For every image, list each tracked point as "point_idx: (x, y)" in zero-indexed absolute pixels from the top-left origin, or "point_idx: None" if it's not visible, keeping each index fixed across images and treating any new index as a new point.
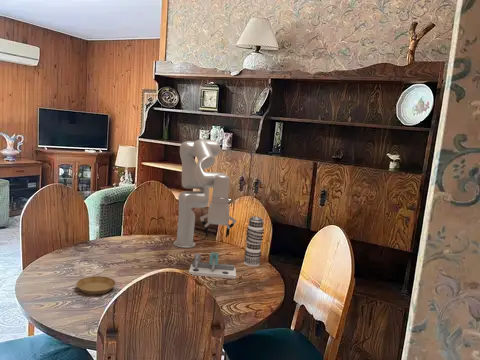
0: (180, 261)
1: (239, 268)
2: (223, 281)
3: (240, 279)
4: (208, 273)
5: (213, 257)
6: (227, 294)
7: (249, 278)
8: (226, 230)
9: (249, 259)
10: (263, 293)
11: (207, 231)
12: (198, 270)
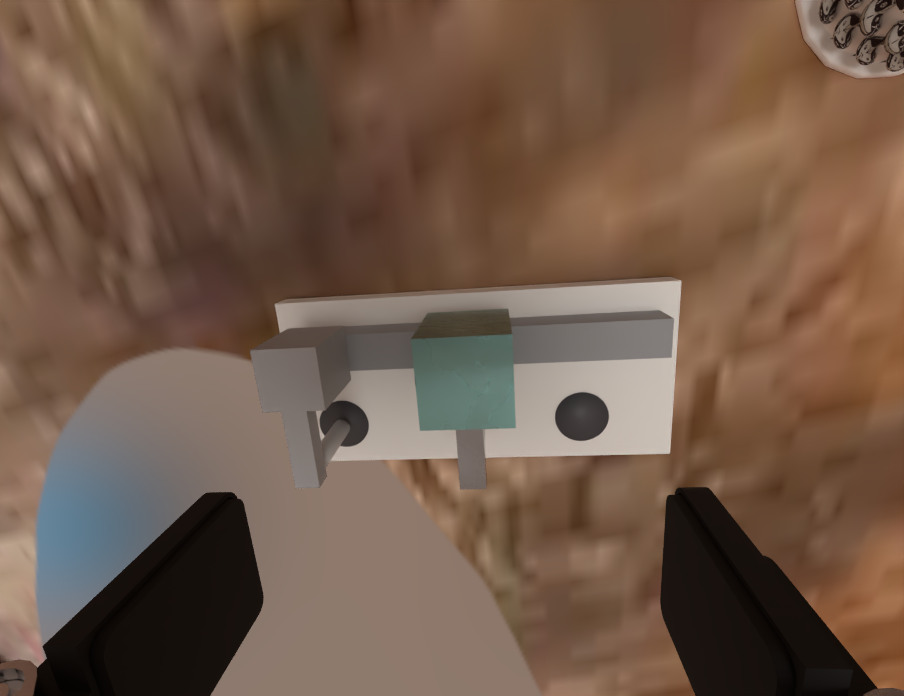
0: (166, 184)
1: (719, 190)
2: (565, 502)
3: (698, 441)
4: (447, 457)
5: (462, 437)
6: (592, 664)
7: (780, 405)
8: (731, 678)
9: (901, 45)
10: (833, 622)
11: (212, 684)
12: (364, 427)
